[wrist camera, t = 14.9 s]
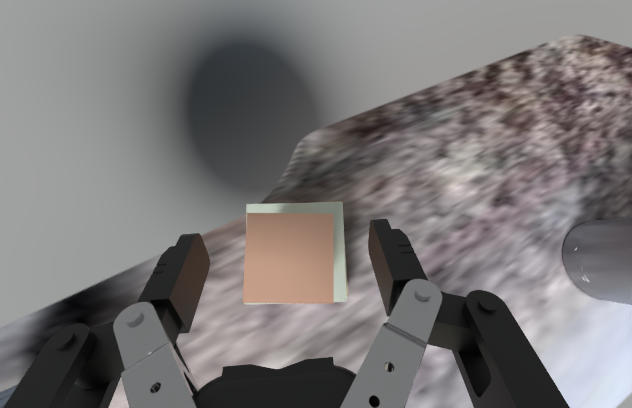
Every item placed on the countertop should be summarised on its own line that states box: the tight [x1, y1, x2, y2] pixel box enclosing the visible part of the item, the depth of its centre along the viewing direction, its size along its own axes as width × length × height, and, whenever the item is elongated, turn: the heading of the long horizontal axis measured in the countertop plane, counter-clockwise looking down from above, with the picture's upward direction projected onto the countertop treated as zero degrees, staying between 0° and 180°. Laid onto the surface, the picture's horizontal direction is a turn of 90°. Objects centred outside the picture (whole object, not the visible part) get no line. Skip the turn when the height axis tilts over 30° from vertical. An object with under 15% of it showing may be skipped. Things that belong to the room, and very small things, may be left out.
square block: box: [243, 213, 334, 303], centre depth 21 cm, size 5×5×10 cm
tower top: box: [245, 202, 347, 305], centre depth 28 cm, size 9×9×4 cm
